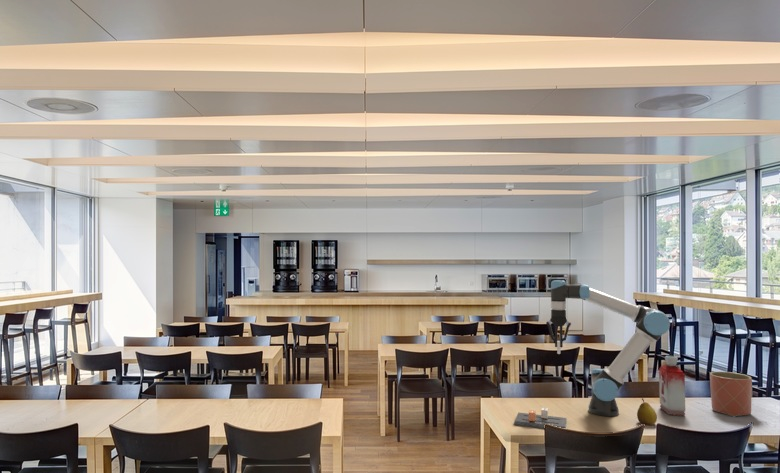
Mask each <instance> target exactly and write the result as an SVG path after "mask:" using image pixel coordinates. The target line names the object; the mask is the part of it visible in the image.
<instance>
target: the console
mask: <svg viewBox="0 0 780 473" xmlns="http://www.w3.org/2000/svg"><path fill="white" fill-rule="evenodd" d="M567 420H568V419H567V417H563V416H562V417H561V416H553V415H548V419H546V418H541V414H536V420H535V421H529V413H526V412H518V413H517V415H516V417H515V419H514V426H518V427H519V426H520V427H521V426H522V427H527V428H528V427H530V428H538V429H544V425H545V424H550V425H553V426H557V427H561V428H566V429H567V422H568V421H567Z"/></svg>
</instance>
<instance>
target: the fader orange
mask: <svg viewBox="0 0 780 473" xmlns="http://www.w3.org/2000/svg"><path fill="white" fill-rule="evenodd" d="M528 414H529V421H535V420H536V415H537V412H536V410H529V411H528Z"/></svg>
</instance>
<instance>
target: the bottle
mask: <svg viewBox="0 0 780 473" xmlns="http://www.w3.org/2000/svg"><path fill="white" fill-rule="evenodd" d="M664 360H665V364H663V365H661V366H660V367H659V368H658V373H659V374H658V378H659V380H658V381H659V382H658V384H659V407H660V408H661V409H662V410H663V411H665V413H667V414H668V415H669V416H674V417H675V416H678V417H684V416H685V415H686V413H685V412H686V382H685V381H686V376H685V375H686V374H685V373H684V371H683V370H681V369H680V368H679V367H678V366H676V365H677V364H678V357H677V356H674V355H666V356H664Z"/></svg>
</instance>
